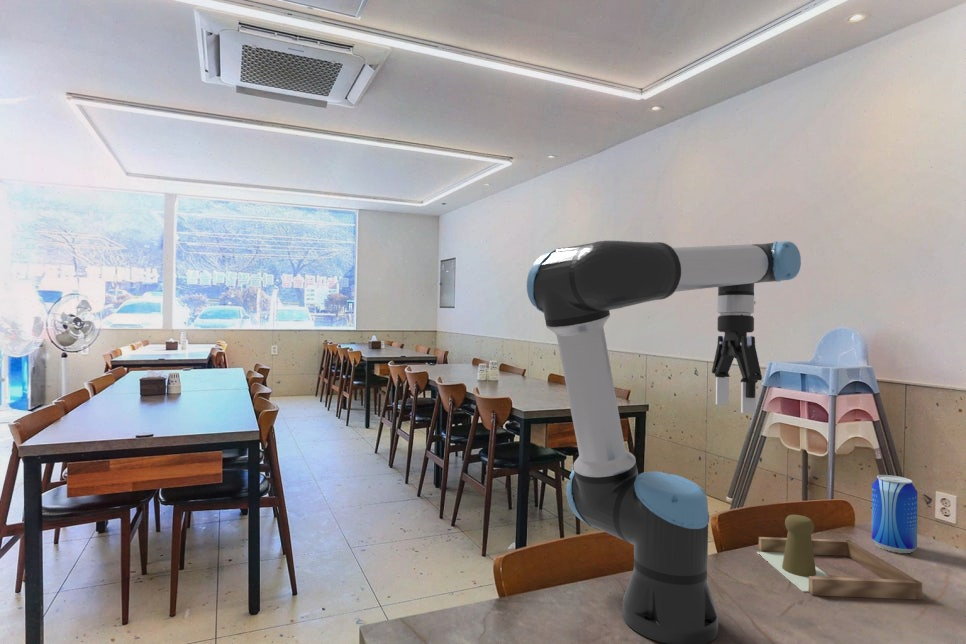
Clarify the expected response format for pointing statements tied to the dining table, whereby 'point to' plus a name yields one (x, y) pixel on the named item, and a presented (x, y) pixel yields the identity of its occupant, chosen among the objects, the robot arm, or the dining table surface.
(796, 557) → the olive chess pawn
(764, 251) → the robot arm
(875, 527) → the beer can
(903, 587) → the bay
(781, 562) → the front pad
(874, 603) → the dining table surface
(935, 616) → the dining table surface
